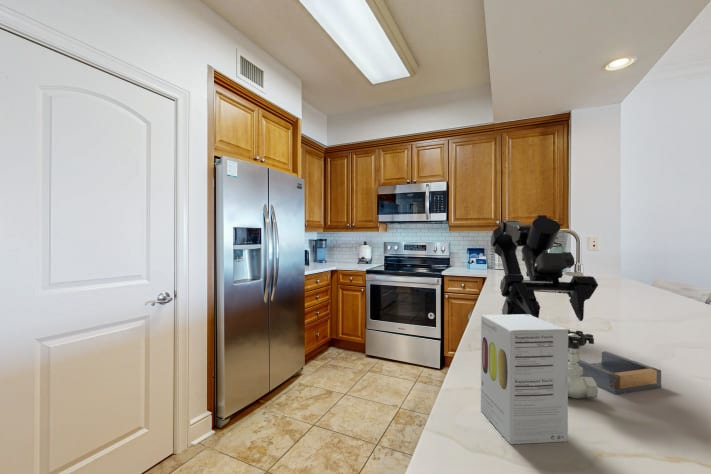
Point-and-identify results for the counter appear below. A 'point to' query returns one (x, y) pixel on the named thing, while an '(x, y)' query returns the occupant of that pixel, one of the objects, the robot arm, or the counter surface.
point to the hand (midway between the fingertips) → (557, 318)
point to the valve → (579, 368)
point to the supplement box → (525, 378)
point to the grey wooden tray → (621, 374)
